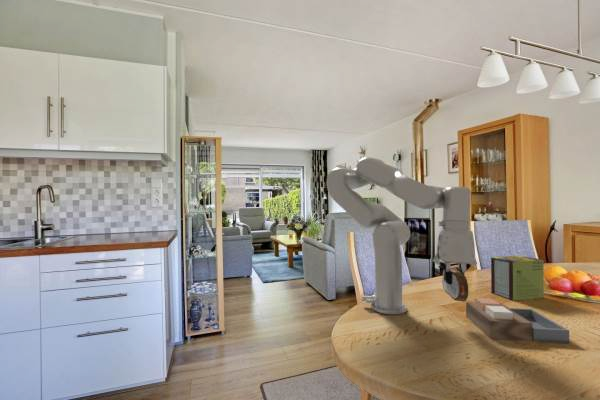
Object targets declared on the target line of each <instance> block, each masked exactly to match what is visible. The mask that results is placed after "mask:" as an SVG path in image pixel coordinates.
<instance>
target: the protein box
mask: <svg viewBox="0 0 600 400" xmlns="http://www.w3.org/2000/svg"><path fill="white" fill-rule="evenodd" d="M544 263H545V262H544V259H540V258H535V257H531V256H530V257H529V256H525V255H504V256H502V255H501V256H491V257H490V264H491V265H490V270H491V271H490V273H491V274H490V275H491V278H490V279H491V281H490V283H491V284H490V286H491V287H490V288H491V294H493V295H496V296H499V297H502V298H503V299H507V300H510V301H513V302H514V301H525V300H535V299H536V300H537V299H544V298H545V297H544V296H545V295H544V294H545V293H544V274H545V273H544V271H545V270H544Z"/></svg>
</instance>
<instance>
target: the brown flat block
mask: <svg viewBox="0 0 600 400" xmlns="http://www.w3.org/2000/svg"><path fill="white" fill-rule="evenodd" d="M498 303H499V304H500V306H503V307H505V308H506V309H508V310H509V311H511V312H512V313H513V320H512V319H494V318H493V317H491V316H490V315H489V314H487V313H486V310H482V309H481V308H480V307H478V306H477V305H476V304H475V301H465V306H466V307H465V309H466V310H465V316H466V318H468V320H469V321H470V322H472V323H473V324H474V325H475V326H476V327H477V328H478V329H479V330H480V331H481V332H483V334H484V335H485V336H487V338H489V339H490V340H491V339H494V340H506V341H507V340H510V341H526V342H527V341H528V342H533V340H532V323H531V322H530V321H528V320H527V319H525V318H523V317H522V316H520V315H519V314H517V313H516V312H514V311H513V310H511V309H509V308H510V307H508V306H506V304H503V303H501V302H498Z"/></svg>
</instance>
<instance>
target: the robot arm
mask: <svg viewBox="0 0 600 400" xmlns="http://www.w3.org/2000/svg"><path fill="white" fill-rule="evenodd" d="M370 184H374V185H376V186H378V187H380V188H381V189H385V190H386V191H388V192H389V193H391V194H393V195H394V196H395V197H397V198H399V199H400V200H402V201H404V202H407V203H408V204H410V205H413V206H415V207H416V208H419V209H423V210H431V209H432V210H435V209H443V210H442V219H441V221H438V222H437V226H438V227H441V228H440V230H439V234H438V239H437V246H436V254H435V255H434V257H433V258H432V262H434V263H435V264H437V265H438V266H440V267H441V268H442V269H443V270H444V280H445V281H446V283H447V284H449V285H451V279H452V272H450V268H451V264H452V263H453V264H454V263H455V264H458V269H457V270H458V271H460V272H461V273H463V274H464V275H465V274H466V272H467V271H468V270H469V269H470V268H471V267H474V266H477V265H478V262H477V260H476V246H475V237H474V232H473V230H470V228H471V227H470V226H471V222H470V221H471V201H472V199H471V196H472V193H471V189H470V188H469V187H467V186H448V187H442V186H441V187H440V186H434V185H428V184H425V183H423V182H420V181H418V180H416V179H413V178H411V177H409V176H407V175H405V174H404V173H403V171H402V170H401V169H399V168H397V167H394V166H392V165H390V164H388V163H385V161H383V160H381V159H379V158H374V157H370V156H369V157H368V156H365V157H363V158H360V159H359V160H358V162H357V163H356V166H355V168H346V167H336V168H334V169H332V170H330V171H329V173H327V177H326V188H327V189H326V190H327V191H328V193H329V196H330V197H331V199H332V200H333V201H334V202H335V203H336V204H338V206H340V207H341V208H342V210H344V211H345V212H346V213H347V215H349V216H350V217H351V218H352V219H353V220H354V221H355V222H356V223H358V224H359V225H360V226H361V227H363V228H365V229H370V228H374V230H373V233H372V243H373V249H374V287H375V288H374V292H373V295H372V294H370V295H362V296H361V297H362V299H361V301H363V302H365V303H366V304H370V308H371V309H372V310H373V311H375V312H378V313H380V314H384V315H390V316H391V315H392V316H393V315H397V316H398V315H401V314H405V313H406V312H407V310H408V308H407V305H406V304H405V303H403V256H402V251H401V246H402V245H404V244H406V243H407V242H408V241H409V240H410V238H411V229H410V228H409V226H408V224H407V223H406V222H405V221H403V219H401V218H400V217H399V216H397V215H396V213H394V212H393V211H391V209H389V208H388V207H387V206H385V205H383V204H381V203H375V202H373V203H372V202H369V201H367V200H366V199H365V198H364V197H362V196H361V194H360V193H358V192H356V191H355V190H356V189H360V188H363V187H365V186H368V185H370Z"/></svg>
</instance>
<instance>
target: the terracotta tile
mask: <svg viewBox="0 0 600 400" xmlns="http://www.w3.org/2000/svg"><path fill="white" fill-rule="evenodd" d="M474 302H475V304H476V305H477V306H478V307H480V308H481V309H482V310H486V306H500V304H499V303H500V302H497V301H496V300H494V299H493V298H488V297H487V298H483V297H482V298H481V297H474Z"/></svg>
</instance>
